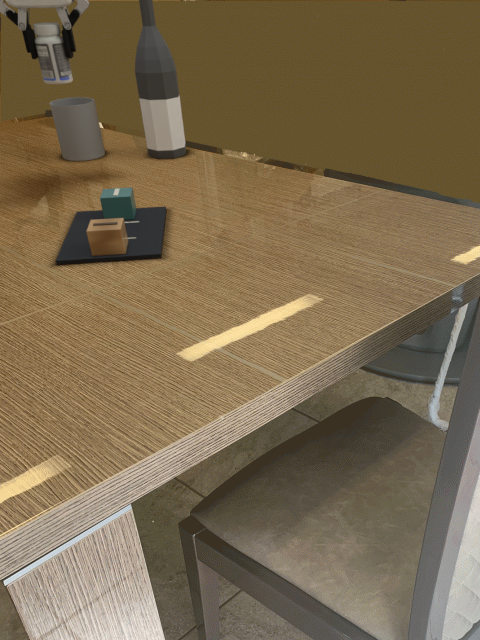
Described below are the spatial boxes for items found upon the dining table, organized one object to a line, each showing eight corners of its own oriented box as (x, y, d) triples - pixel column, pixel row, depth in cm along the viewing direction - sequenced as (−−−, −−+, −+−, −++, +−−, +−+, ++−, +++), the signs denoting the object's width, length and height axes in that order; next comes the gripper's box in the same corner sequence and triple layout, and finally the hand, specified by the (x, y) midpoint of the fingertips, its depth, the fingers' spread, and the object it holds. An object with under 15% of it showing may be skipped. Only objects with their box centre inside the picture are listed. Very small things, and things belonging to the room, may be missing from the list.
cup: (95, 147, 136) (84, 95, 130) (112, 155, 131) (101, 101, 125) (56, 154, 132) (43, 101, 126) (72, 163, 127) (59, 107, 121)
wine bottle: (177, 160, 128) (151, -24, 110) (140, 157, 130) (109, -24, 111) (194, 150, 134) (173, -26, 116) (159, 147, 136) (132, -26, 118)
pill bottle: (72, 79, 110) (60, 21, 105) (74, 83, 107) (62, 24, 102) (42, 80, 109) (29, 22, 104) (44, 85, 105) (30, 25, 100)
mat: (56, 264, 87) (55, 260, 87) (77, 215, 103) (76, 211, 102) (161, 258, 89) (160, 253, 88) (166, 210, 104) (165, 206, 104)
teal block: (104, 220, 99) (99, 197, 97) (107, 211, 102) (103, 188, 100) (134, 219, 99) (130, 195, 97) (136, 209, 103) (132, 186, 101)
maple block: (92, 256, 88) (86, 230, 86) (96, 243, 91) (90, 218, 89) (125, 254, 88) (120, 228, 86) (128, 241, 92) (123, 216, 90)
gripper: (85, -83, 99) (108, 53, 110) (-32, -84, 96) (4, 55, 107) (79, -84, 93) (104, 59, 104) (-46, -85, 90) (-7, 62, 101)
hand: (53, 56), depth 105 cm, fingers closed on pill bottle, 4 cm apart
